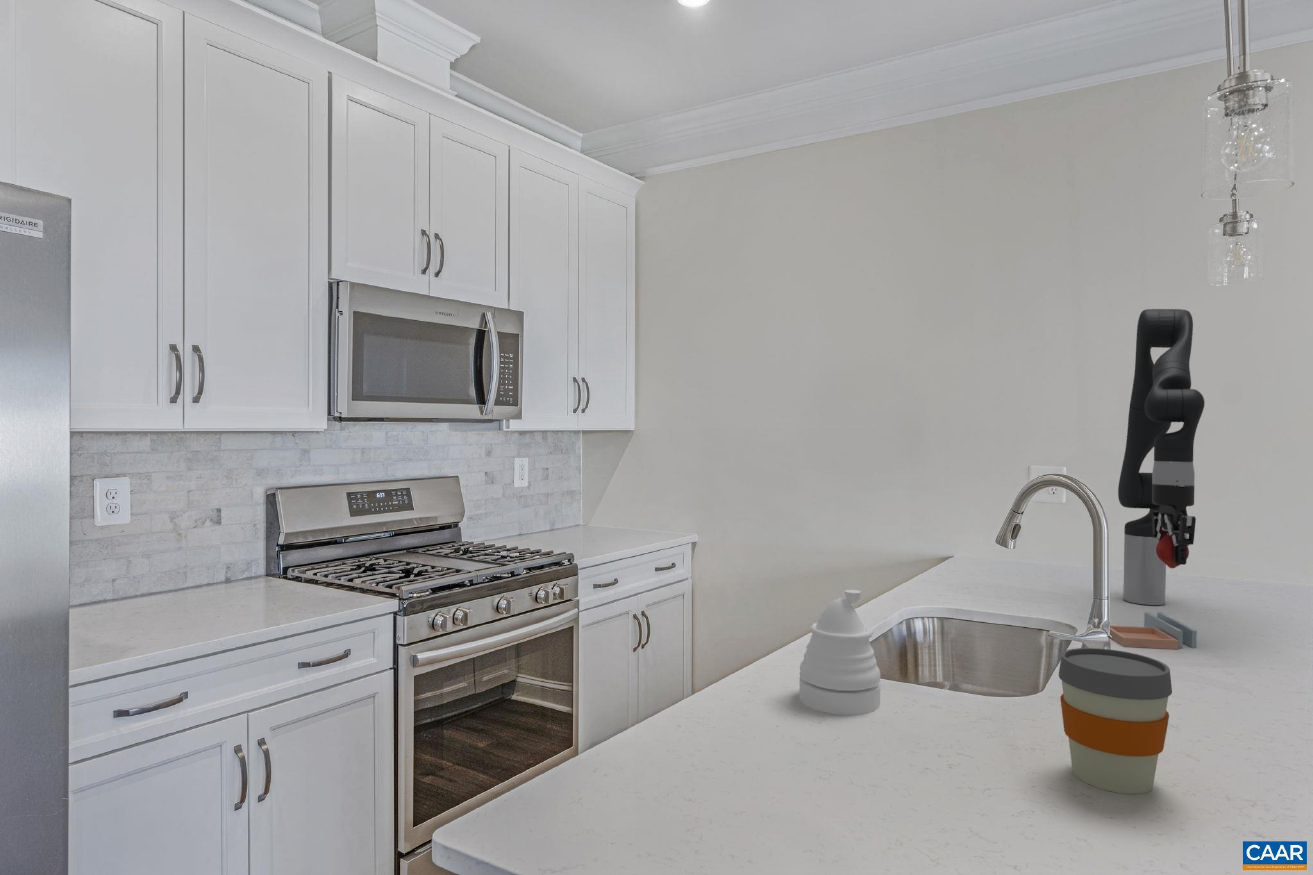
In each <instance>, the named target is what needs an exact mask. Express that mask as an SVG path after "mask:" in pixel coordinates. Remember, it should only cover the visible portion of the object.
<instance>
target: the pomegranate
mask: <svg viewBox="0 0 1313 875" xmlns="http://www.w3.org/2000/svg"><path fill="white" fill-rule="evenodd" d="M1168 533H1169V532H1168ZM1177 537H1178V536H1177ZM1173 546H1174V543H1173V539H1172V536H1170V535H1169V534H1168V535H1167V536H1165V537H1164V538H1162V539H1161V540H1160V541H1159V542H1158V544H1157V547H1156V554H1157V555H1158V557H1159V558H1160V560H1161V561H1162V562H1164V563H1165V564H1166V567H1168V568H1169V569H1175V568H1177V567H1179V566H1180V565H1178V564H1174V562H1173ZM1189 554H1190V550H1189V546H1188V547H1187V554H1186V561H1187V560H1188V558H1189Z"/></svg>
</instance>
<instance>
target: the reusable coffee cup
mask: <svg viewBox="0 0 1313 875" xmlns="http://www.w3.org/2000/svg"><path fill="white" fill-rule="evenodd" d="M1059 663H1060V664H1059V669H1058V678H1059V679H1060V680H1061V686H1062V694H1061V696H1060V707H1061V714H1062V724H1063V731H1064V734H1065V736H1067V737H1068V745H1069V752H1070V754H1069V755H1070V760H1071V761H1070V762H1071V770H1072V773H1073V775H1074V776H1075V777H1076V778H1078V779H1079V780H1080V781H1082V782H1083V783H1085V784H1087V785H1089V786H1091V787H1095V788H1097V789H1101V790H1104V791H1107V792H1113V793H1116V794H1117V793H1118V794H1123V795H1125V794H1126V795H1141V794H1145V793H1149V792H1150V791H1152V790H1153V788H1154V784H1155V783H1154V782H1155V776H1156V771H1157V765H1158V760H1159V754H1161V753H1162V752H1163V751H1164V748H1165V743H1166V736H1167V732H1168V731H1167V729H1168V725H1169V719H1170V714H1169V712H1168V711H1167V708H1168V707H1167V706H1168V702H1169V697H1171V695H1172V694H1173V688H1172V677H1171V670H1170V667H1169V665H1167V664H1165V663H1163V661H1160V660H1157V659H1155V658H1152V657H1149V656H1145V655H1142V654H1138V653H1134V652H1128V651H1124V650H1118V649H1108V648H1099V647H1098V648H1097V647H1080V648H1079V647H1078V648H1077V647H1076V648H1071V649H1070V648H1069V649H1065V650H1064V651H1063V652H1062V653H1061V655H1060V662H1059Z"/></svg>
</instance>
